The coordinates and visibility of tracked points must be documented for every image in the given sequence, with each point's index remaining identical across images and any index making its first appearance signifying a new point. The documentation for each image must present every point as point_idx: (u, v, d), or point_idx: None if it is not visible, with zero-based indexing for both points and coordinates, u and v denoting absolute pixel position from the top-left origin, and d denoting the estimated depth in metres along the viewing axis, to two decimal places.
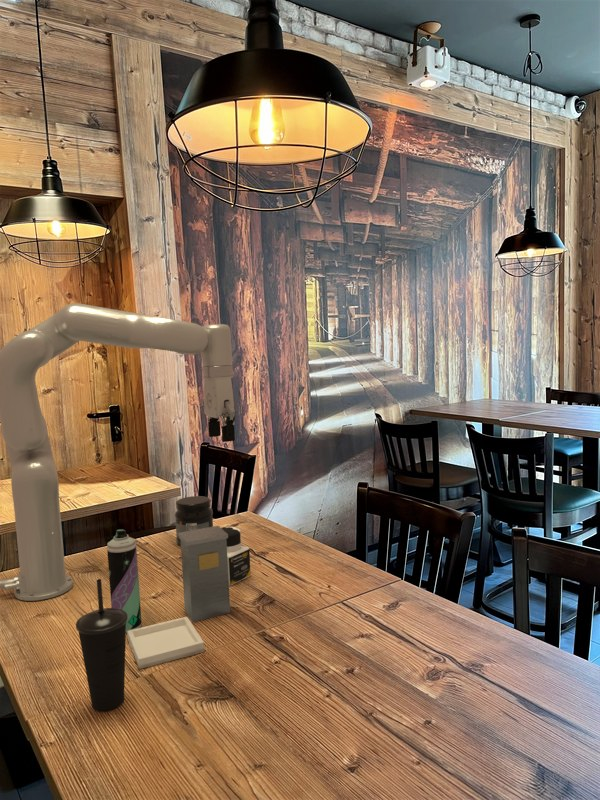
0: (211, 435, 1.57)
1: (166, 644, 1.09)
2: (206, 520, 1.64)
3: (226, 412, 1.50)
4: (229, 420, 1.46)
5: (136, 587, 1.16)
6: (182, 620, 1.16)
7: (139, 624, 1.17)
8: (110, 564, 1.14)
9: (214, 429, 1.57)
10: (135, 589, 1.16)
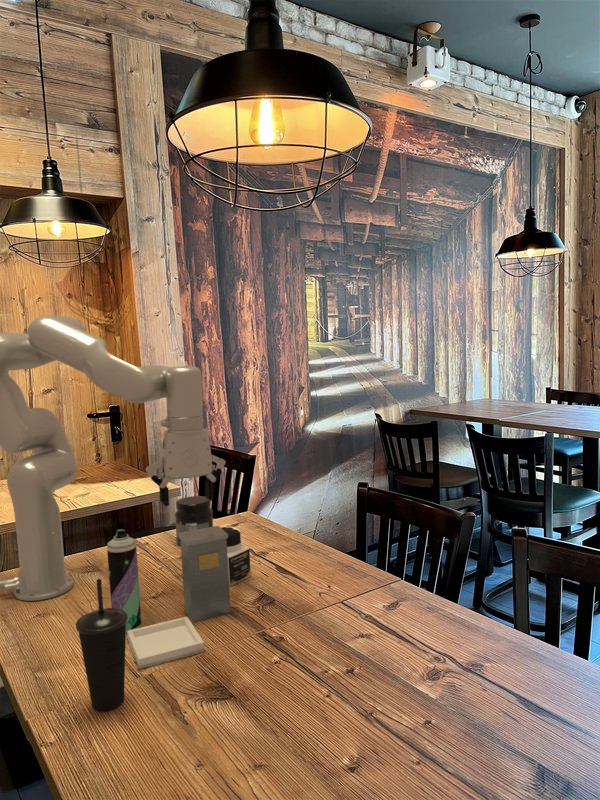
0: None
1: (166, 644, 1.09)
2: (206, 520, 1.64)
3: None
4: None
5: (136, 587, 1.16)
6: (182, 620, 1.16)
7: (139, 624, 1.17)
8: (110, 564, 1.14)
9: None
10: (135, 589, 1.16)
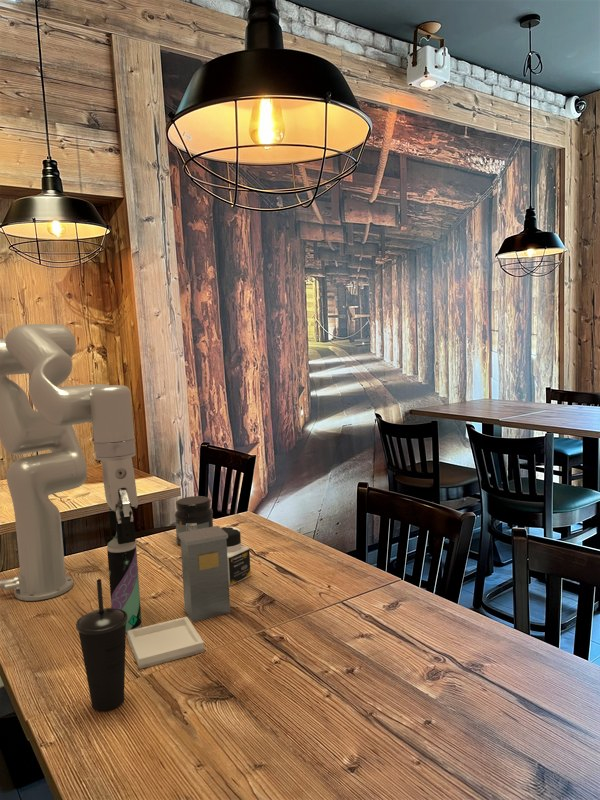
0: None
1: (166, 644, 1.09)
2: (206, 520, 1.64)
3: None
4: None
5: (136, 587, 1.16)
6: (182, 620, 1.16)
7: (139, 624, 1.17)
8: (110, 564, 1.14)
9: None
10: (135, 589, 1.16)
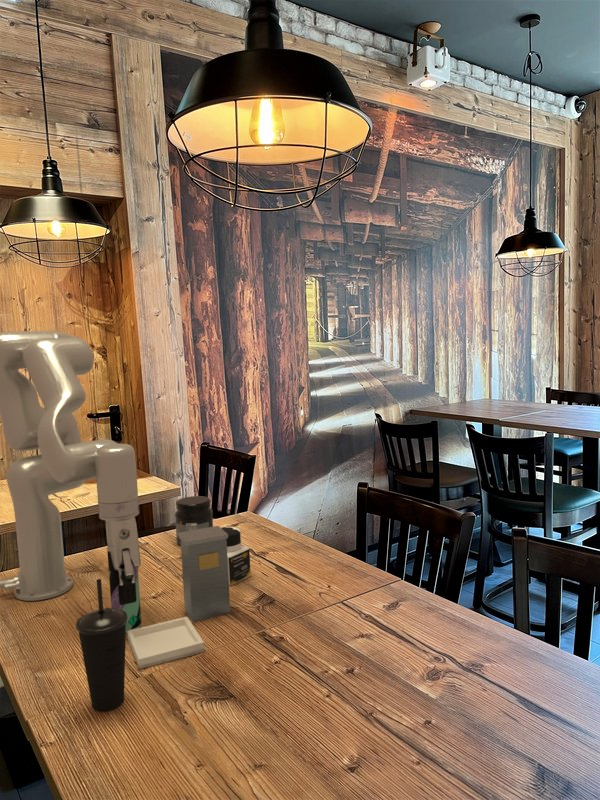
0: None
1: (166, 644, 1.09)
2: (206, 520, 1.64)
3: None
4: None
5: (136, 587, 1.16)
6: (182, 620, 1.16)
7: (139, 624, 1.17)
8: (110, 564, 1.14)
9: None
10: None
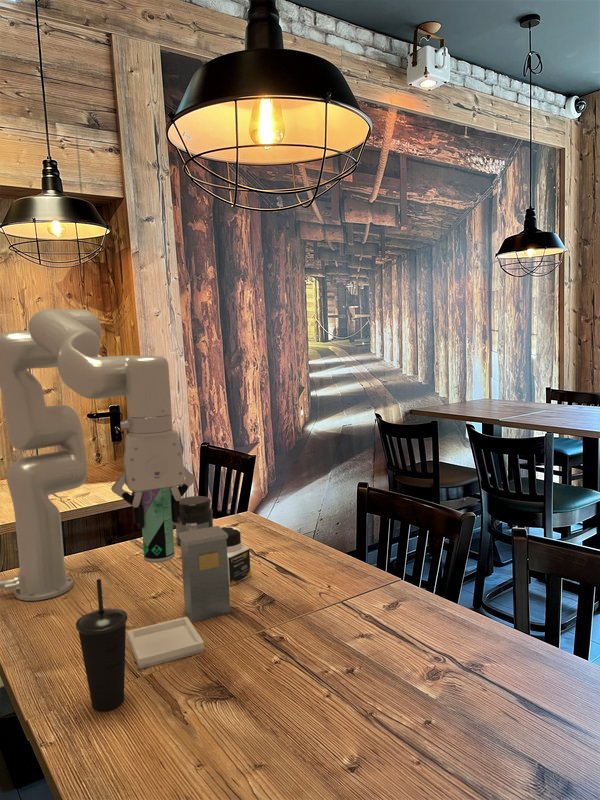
0: None
1: (166, 644, 1.09)
2: (206, 520, 1.64)
3: None
4: None
5: (148, 516, 1.05)
6: (182, 620, 1.16)
7: (151, 558, 1.06)
8: None
9: None
10: (146, 517, 1.05)
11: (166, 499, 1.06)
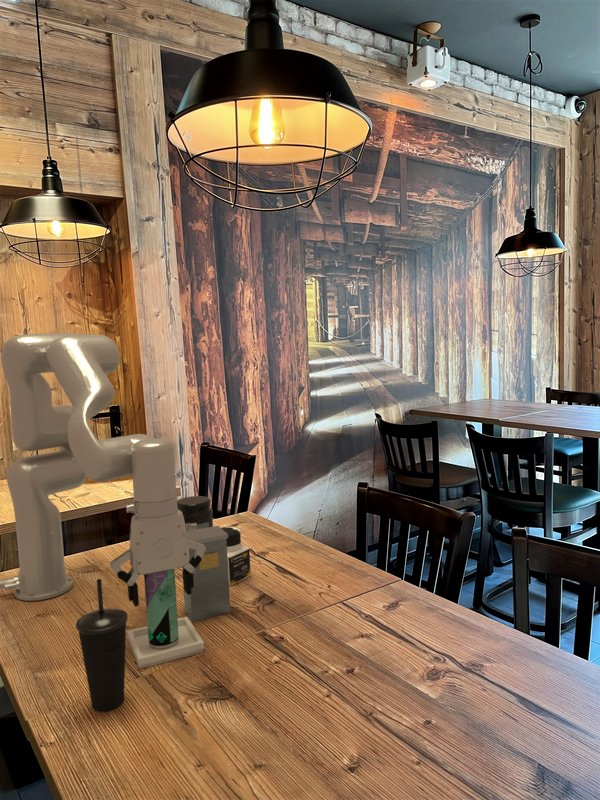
0: (138, 603, 1.06)
1: None
2: (206, 520, 1.64)
3: None
4: None
5: (153, 604, 1.07)
6: (182, 620, 1.16)
7: (156, 645, 1.07)
8: None
9: None
10: (151, 605, 1.07)
11: (171, 587, 1.08)
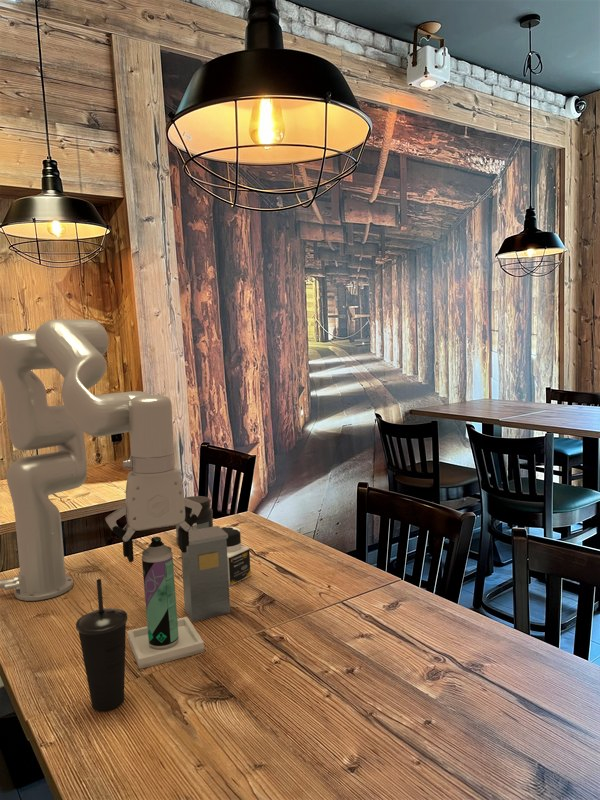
0: None
1: None
2: (206, 520, 1.64)
3: None
4: None
5: (152, 604, 1.07)
6: (182, 620, 1.16)
7: (156, 645, 1.07)
8: None
9: None
10: (151, 606, 1.07)
11: (170, 587, 1.08)
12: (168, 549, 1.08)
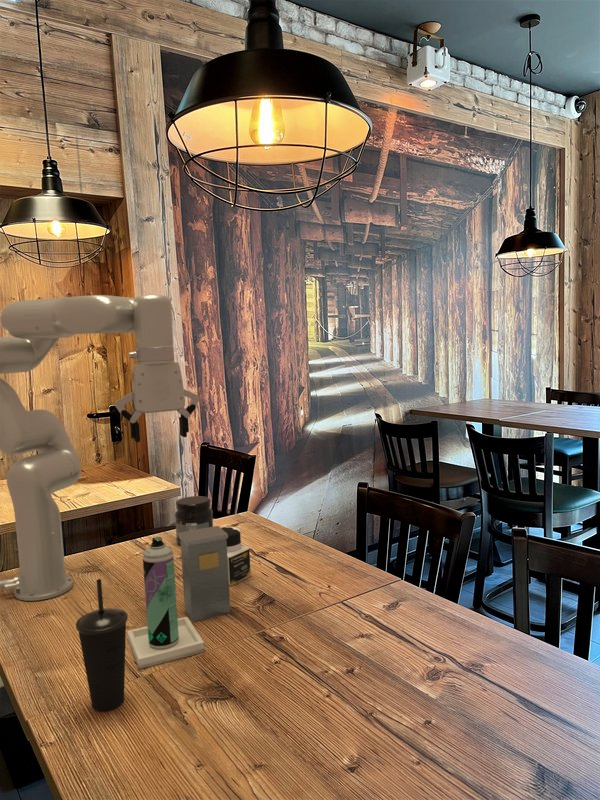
0: (139, 439, 1.20)
1: None
2: (206, 520, 1.64)
3: None
4: None
5: (153, 604, 1.07)
6: (182, 620, 1.16)
7: (156, 645, 1.07)
8: None
9: None
10: (151, 606, 1.07)
11: (171, 587, 1.08)
12: (169, 549, 1.08)
